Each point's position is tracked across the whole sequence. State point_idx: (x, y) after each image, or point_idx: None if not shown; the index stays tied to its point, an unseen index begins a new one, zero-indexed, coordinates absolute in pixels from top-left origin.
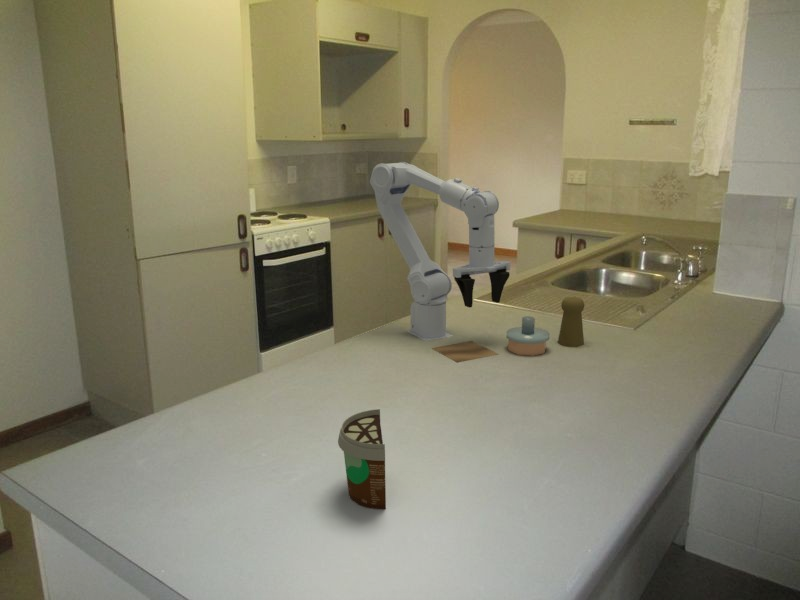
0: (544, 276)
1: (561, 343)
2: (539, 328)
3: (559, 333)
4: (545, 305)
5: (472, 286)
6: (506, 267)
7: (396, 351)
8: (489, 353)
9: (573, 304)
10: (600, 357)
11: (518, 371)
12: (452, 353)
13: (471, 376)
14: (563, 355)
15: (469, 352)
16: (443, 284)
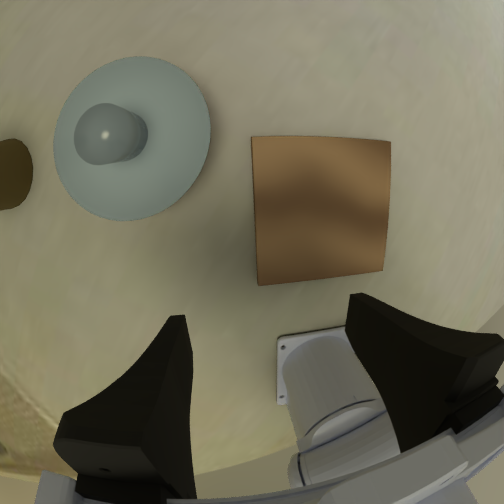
0: (15, 466)
1: (29, 166)
2: (59, 175)
3: (12, 193)
4: (11, 406)
5: (434, 342)
6: (69, 500)
7: (428, 291)
8: (276, 154)
9: None
10: (22, 50)
11: (271, 18)
12: (366, 208)
13: (391, 61)
14: (75, 79)
15: (324, 193)
16: (345, 469)
